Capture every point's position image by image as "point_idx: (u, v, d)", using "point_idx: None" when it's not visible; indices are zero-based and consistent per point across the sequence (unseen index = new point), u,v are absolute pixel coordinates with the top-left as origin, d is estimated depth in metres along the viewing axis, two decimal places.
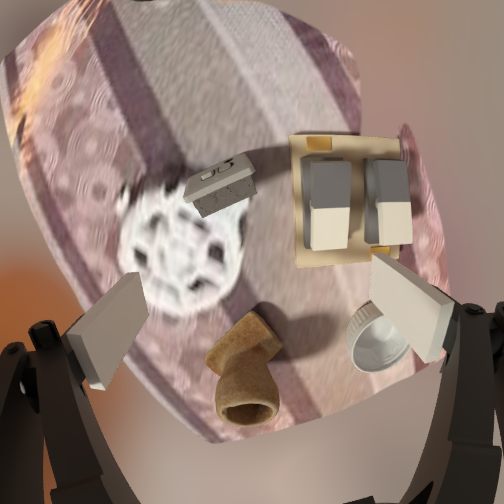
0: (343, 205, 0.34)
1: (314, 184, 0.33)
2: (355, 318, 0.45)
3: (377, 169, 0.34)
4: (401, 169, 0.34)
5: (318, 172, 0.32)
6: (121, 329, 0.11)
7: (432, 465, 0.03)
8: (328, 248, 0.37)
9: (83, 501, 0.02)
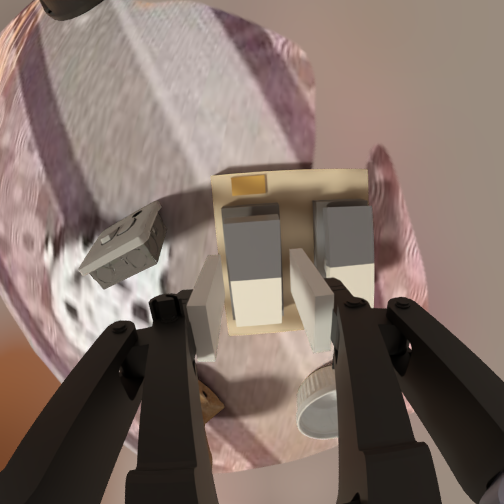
0: (271, 275, 0.27)
1: (227, 251, 0.26)
2: (305, 385, 0.37)
3: (327, 220, 0.27)
4: (364, 219, 0.26)
5: (232, 236, 0.25)
6: (218, 305, 0.13)
7: (352, 473, 0.04)
8: (256, 324, 0.30)
9: (164, 492, 0.03)
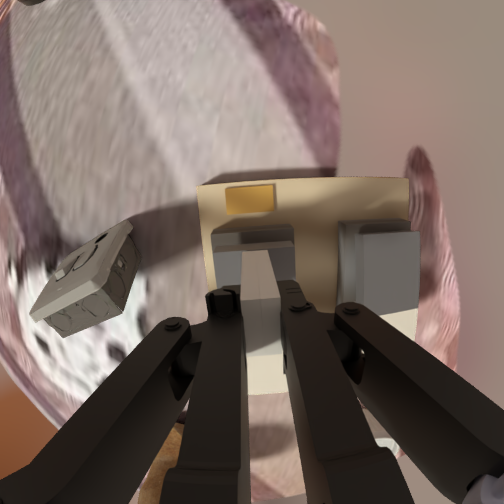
0: None
1: None
2: None
3: (362, 253, 0.18)
4: (410, 249, 0.18)
5: (225, 271, 0.17)
6: None
7: (315, 483, 0.04)
8: (260, 392, 0.20)
9: (202, 493, 0.03)
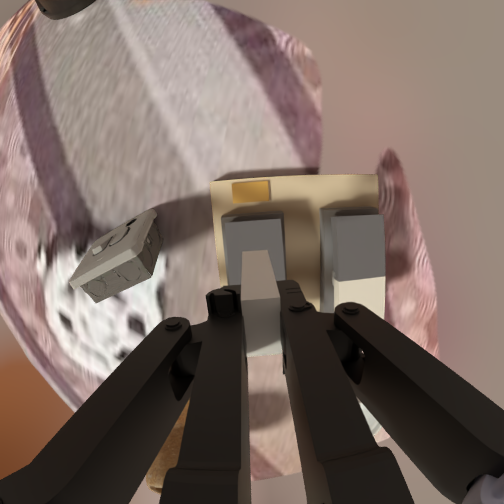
0: None
1: (228, 253, 0.25)
2: None
3: (335, 230, 0.24)
4: (375, 228, 0.24)
5: (233, 236, 0.25)
6: None
7: (315, 483, 0.04)
8: None
9: (203, 493, 0.03)
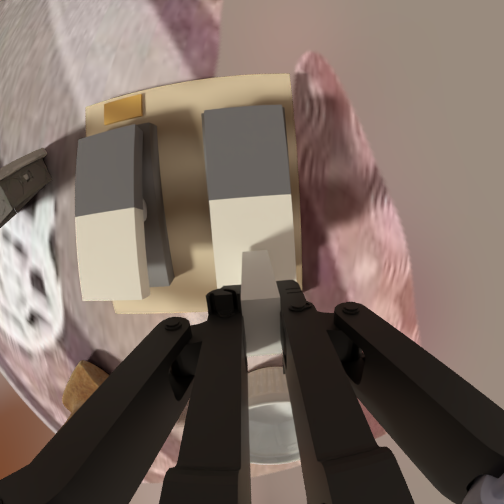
0: (121, 204, 0.16)
1: (77, 173, 0.16)
2: None
3: (205, 129, 0.16)
4: (268, 123, 0.16)
5: (83, 152, 0.16)
6: None
7: (315, 483, 0.04)
8: (106, 297, 0.17)
9: (203, 493, 0.03)
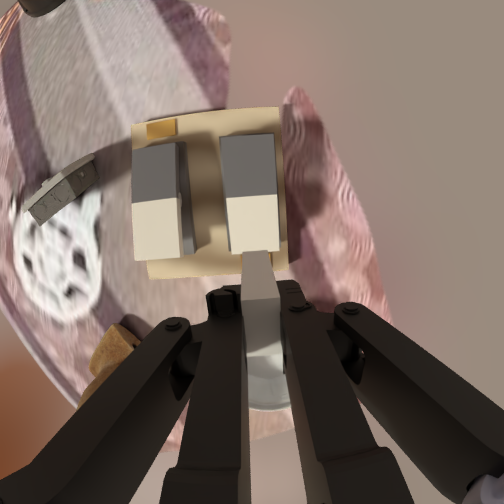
0: (167, 195, 0.26)
1: (132, 174, 0.26)
2: None
3: (222, 150, 0.25)
4: (263, 147, 0.25)
5: (137, 159, 0.26)
6: None
7: (315, 483, 0.04)
8: (154, 257, 0.27)
9: (203, 493, 0.03)
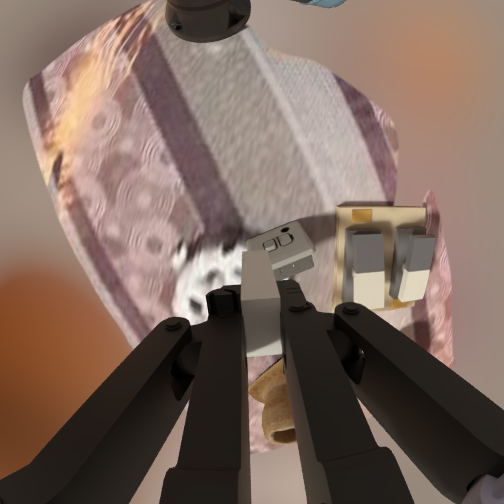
0: (379, 269, 0.40)
1: (356, 252, 0.40)
2: None
3: (412, 245, 0.39)
4: (430, 245, 0.39)
5: (359, 242, 0.40)
6: None
7: (315, 483, 0.04)
8: (369, 308, 0.41)
9: (203, 493, 0.03)
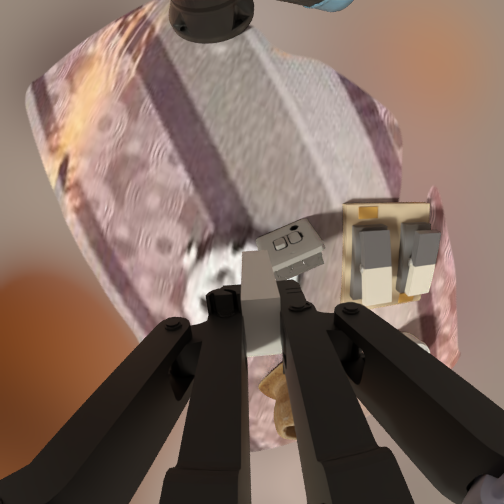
0: (386, 265, 0.41)
1: (364, 249, 0.41)
2: None
3: (418, 240, 0.40)
4: (435, 240, 0.39)
5: (367, 239, 0.41)
6: None
7: (315, 483, 0.04)
8: (377, 303, 0.41)
9: (203, 493, 0.03)
